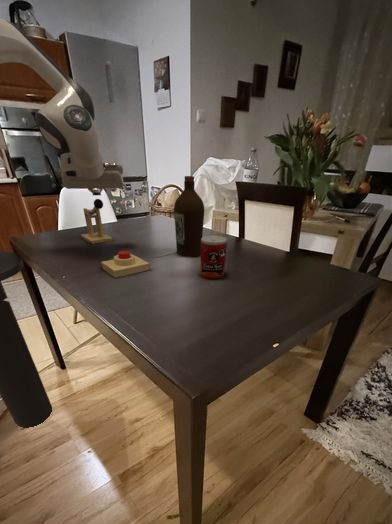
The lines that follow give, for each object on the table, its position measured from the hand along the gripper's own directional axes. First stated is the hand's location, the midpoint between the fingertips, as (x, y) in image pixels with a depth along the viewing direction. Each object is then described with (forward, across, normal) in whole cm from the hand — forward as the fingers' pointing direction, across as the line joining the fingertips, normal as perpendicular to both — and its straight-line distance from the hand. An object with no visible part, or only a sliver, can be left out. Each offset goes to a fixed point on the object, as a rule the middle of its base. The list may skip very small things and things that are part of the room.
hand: (96, 193), depth 104 cm
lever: (+7, +2, +3) cm, 8 cm away
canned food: (-16, -34, +42) cm, 56 cm away
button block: (-9, -8, +34) cm, 36 cm away
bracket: (+18, +4, +7) cm, 20 cm away
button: (-11, -8, +32) cm, 35 cm away
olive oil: (+1, -31, +25) cm, 40 cm away
